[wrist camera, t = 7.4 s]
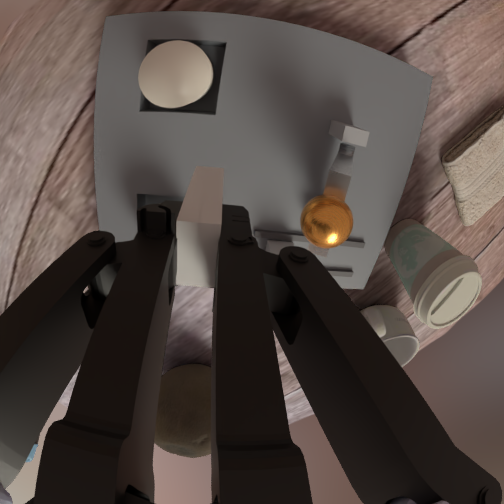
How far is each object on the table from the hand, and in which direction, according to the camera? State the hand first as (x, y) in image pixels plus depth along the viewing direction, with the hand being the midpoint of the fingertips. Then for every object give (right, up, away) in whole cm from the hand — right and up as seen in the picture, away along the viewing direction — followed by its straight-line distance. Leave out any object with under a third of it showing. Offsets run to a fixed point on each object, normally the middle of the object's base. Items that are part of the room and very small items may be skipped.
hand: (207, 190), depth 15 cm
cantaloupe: (-7, -23, +28) cm, 37 cm away
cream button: (-3, +11, +4) cm, 12 cm away
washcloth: (+34, +9, +12) cm, 37 cm away
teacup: (+19, -12, +24) cm, 33 cm away
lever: (+9, +2, +6) cm, 11 cm away
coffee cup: (+21, -2, +17) cm, 27 cm away
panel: (+3, +6, +10) cm, 12 cm away
